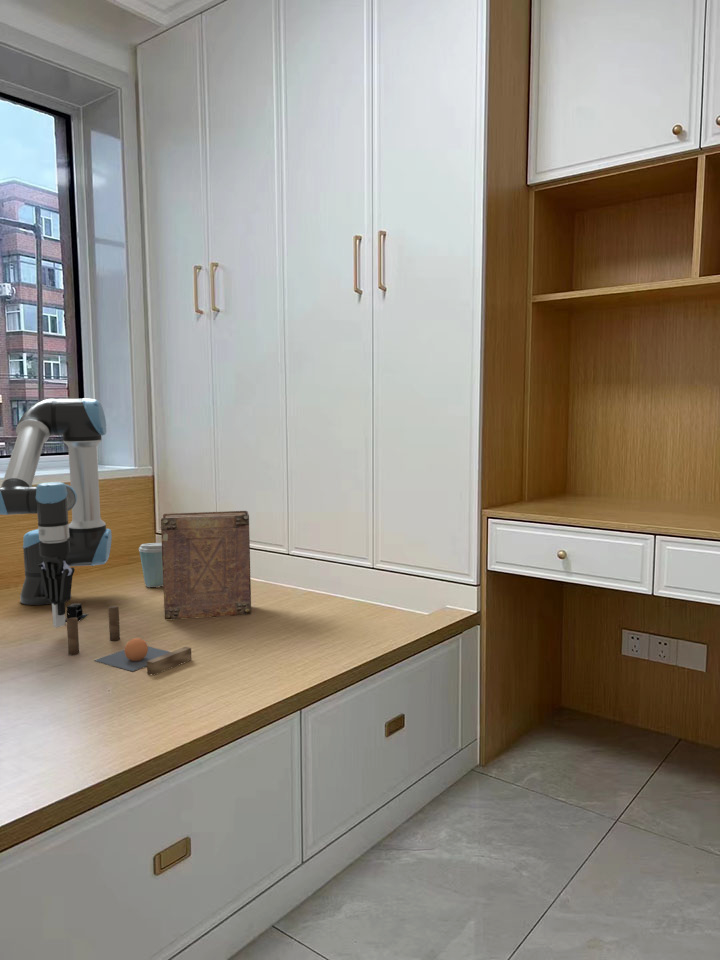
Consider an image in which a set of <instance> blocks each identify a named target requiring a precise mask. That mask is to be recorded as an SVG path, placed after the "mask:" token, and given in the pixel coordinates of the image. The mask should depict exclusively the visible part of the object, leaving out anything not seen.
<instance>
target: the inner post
mask: <svg viewBox="0 0 720 960" xmlns="http://www.w3.org/2000/svg"><path fill="white" fill-rule="evenodd" d="M108 625H109V629H108V630H109V641H110V642H113V643H115V642H118V641H120V640H121V629H120V606H119V605H110V606H108Z"/></svg>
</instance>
